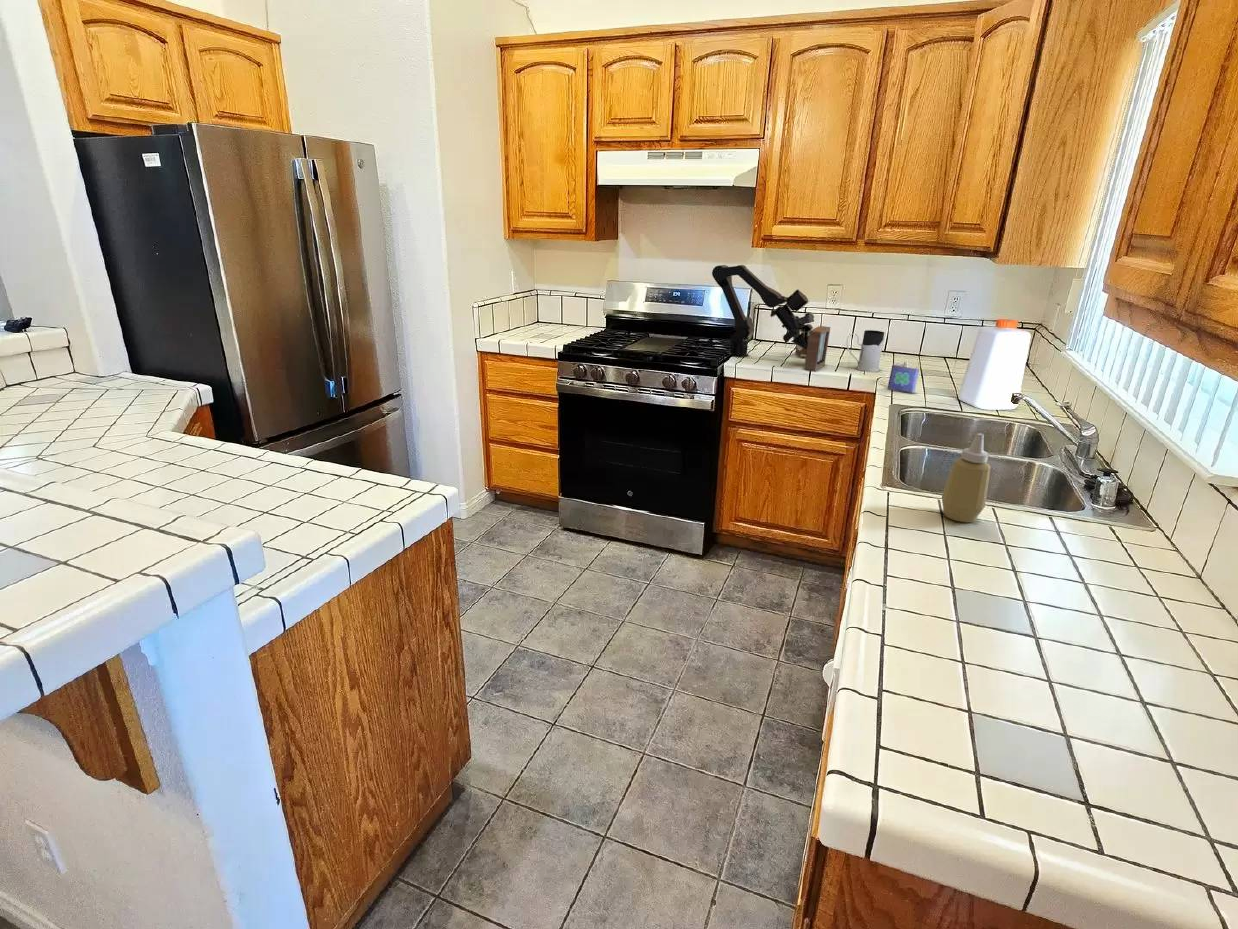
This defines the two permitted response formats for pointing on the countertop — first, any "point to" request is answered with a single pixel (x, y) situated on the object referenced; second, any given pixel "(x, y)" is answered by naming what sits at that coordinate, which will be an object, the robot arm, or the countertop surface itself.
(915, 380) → the flask
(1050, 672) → the countertop surface
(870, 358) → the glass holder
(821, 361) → the window frame
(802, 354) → the food container
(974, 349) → the plastic bottle
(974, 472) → the squeeze bottle
